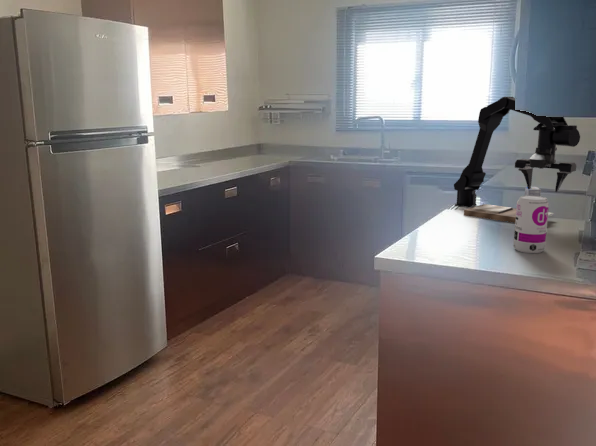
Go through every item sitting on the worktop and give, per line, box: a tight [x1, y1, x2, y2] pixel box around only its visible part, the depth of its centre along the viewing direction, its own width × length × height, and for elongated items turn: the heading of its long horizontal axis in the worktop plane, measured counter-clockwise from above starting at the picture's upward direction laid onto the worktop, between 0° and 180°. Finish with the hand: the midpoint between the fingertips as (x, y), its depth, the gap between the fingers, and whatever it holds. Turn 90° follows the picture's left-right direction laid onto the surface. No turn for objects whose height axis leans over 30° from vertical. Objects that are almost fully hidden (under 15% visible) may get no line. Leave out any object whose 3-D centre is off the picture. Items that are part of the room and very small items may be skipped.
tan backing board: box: [463, 203, 517, 224], centre depth 213 cm, size 22×16×3 cm
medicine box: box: [524, 186, 542, 197], centre depth 224 cm, size 8×4×9 cm, turn 168°
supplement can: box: [512, 195, 550, 254], centre depth 165 cm, size 8×8×15 cm
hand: (542, 190), depth 202 cm, fingers open, 9 cm apart
